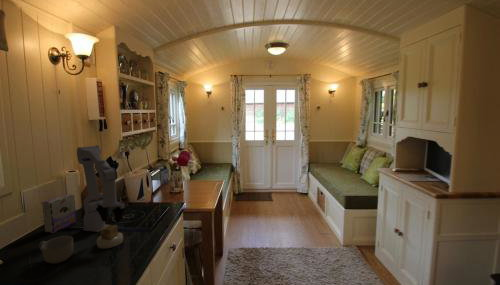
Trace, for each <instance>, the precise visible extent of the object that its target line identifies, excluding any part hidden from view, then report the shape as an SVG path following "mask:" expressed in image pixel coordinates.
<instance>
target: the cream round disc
mask: <svg viewBox="0 0 500 285" xmlns="http://www.w3.org/2000/svg"><path fill="white" fill-rule="evenodd" d="M123 242H124V236H123V233H122V232H119V231H118V236H116V237H115V238H113V239H112V240H105V239H101V235H100V236H98V237H97V238H96V246H97V248H98V249H110V248H115V247H117V246H119V245H121V244H122V243H123Z"/></svg>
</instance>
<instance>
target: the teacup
mask: <svg viewBox="0 0 500 285" xmlns="http://www.w3.org/2000/svg"><path fill="white" fill-rule="evenodd" d="M74 246H75V245H74V238H73V237H72V236H70V235H61V236H57V237H53V238H51V239H49V240H47V241H45V240H42V241H41V242H39V244H38V248H39V250H40V251H41V252H42V257H43V260H44V262H46V263H48V264H52V265H56V264H61V263H64V262H65V261H67V260H68V259H69V258H70V257H71V256H72V255H73V253H74V251H75V250H74V249H75V248H74Z"/></svg>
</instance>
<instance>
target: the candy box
mask: <svg viewBox="0 0 500 285" xmlns="http://www.w3.org/2000/svg"><path fill="white" fill-rule="evenodd" d="M75 199H76V198H75V194H71V193H70V194H68V193H65V194H63V195H60V196H57V197H54V198H50V199H47V200H44V201H42V202H41V205H42V213H43V215H42V216H43V225H44V232H45V233H50V234H54V233H56V232H59V231H61V230H63V229H66V228H68V227H70V226H72V225H74V224H76V223H77V221H78V220H77V219H78V218H77V213H76V212H77V210H76V200H75ZM65 227H66V228H65Z"/></svg>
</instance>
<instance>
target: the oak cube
mask: <svg viewBox="0 0 500 285" xmlns="http://www.w3.org/2000/svg"><path fill="white" fill-rule="evenodd" d="M106 225H107V226H105V227H103V228H102V229H101V231H100V236H101V239H105V240H112V239H113V238H115V237H116V236H118V232H119V229H118V228H119V226H118V225H117V224H106Z"/></svg>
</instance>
